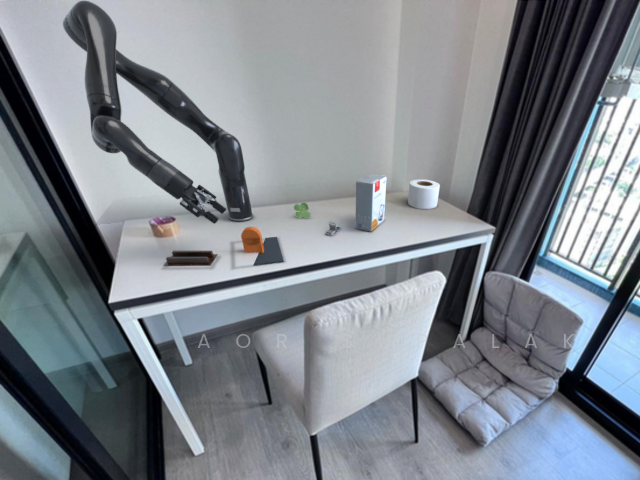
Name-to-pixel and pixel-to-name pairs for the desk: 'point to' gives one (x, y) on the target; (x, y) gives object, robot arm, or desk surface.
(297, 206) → the green clover
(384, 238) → the desk surface
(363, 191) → the hard drive box
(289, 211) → the desk surface
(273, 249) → the felt mat
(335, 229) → the strap clip
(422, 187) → the white paper roll
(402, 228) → the desk surface
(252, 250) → the orange curved block
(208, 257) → the holder
